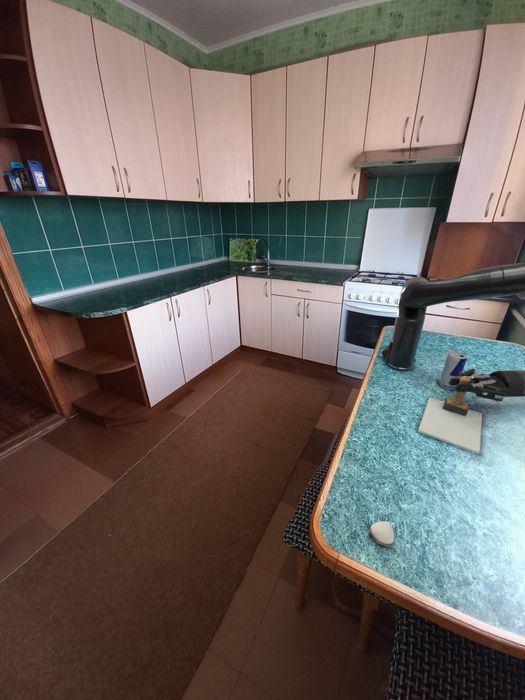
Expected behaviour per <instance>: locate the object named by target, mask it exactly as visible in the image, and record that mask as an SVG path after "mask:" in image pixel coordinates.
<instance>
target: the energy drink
mask: <svg viewBox="0 0 525 700" xmlns="http://www.w3.org/2000/svg"><path fill="white" fill-rule="evenodd" d="M467 361H468V356H467V355H466V354H465V353H463V352H460V351H455V350H454V351H449V352H448V353H447V356H446V359H445V363H444V365H443V369H442V371H441V376H440V378H439V382H438V385H439V386H440V387H441V388H443V389H446V390H449V391H453V390H454V391H455V387H456V386H450V385H449V380H450V379H451V378H460V376H461V373H463V372H464V369H465V366H466V363H467Z"/></svg>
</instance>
